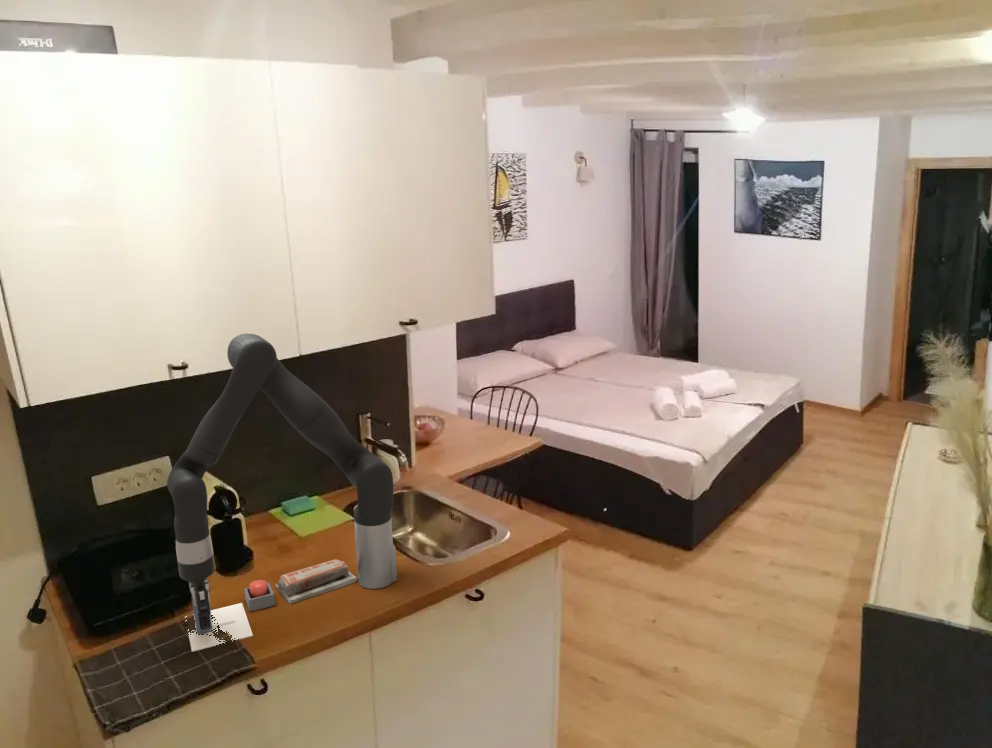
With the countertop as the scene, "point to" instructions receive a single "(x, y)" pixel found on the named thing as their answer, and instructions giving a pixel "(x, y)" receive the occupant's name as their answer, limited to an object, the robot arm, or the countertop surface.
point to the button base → (259, 599)
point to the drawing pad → (223, 627)
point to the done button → (258, 588)
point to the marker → (198, 620)
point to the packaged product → (314, 580)
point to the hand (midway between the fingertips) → (203, 618)
